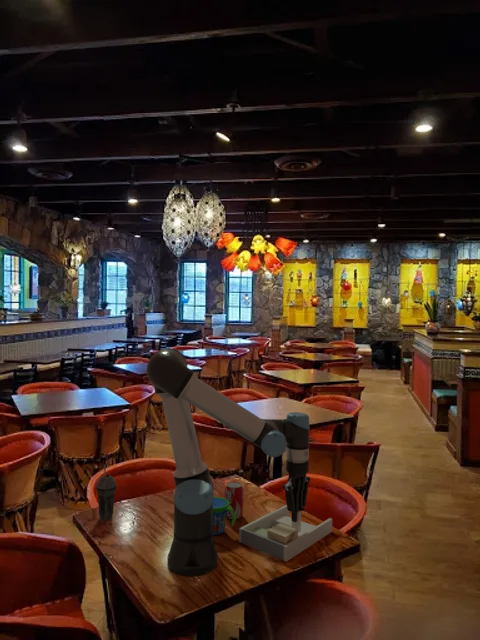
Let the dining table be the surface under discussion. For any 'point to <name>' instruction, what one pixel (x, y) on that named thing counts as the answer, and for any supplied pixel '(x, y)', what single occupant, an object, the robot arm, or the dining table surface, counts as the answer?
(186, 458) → the robot arm
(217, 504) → the snack cup
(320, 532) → the trap box
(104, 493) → the beverage cup
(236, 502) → the soda can
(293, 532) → the beech block
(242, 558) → the dining table surface
